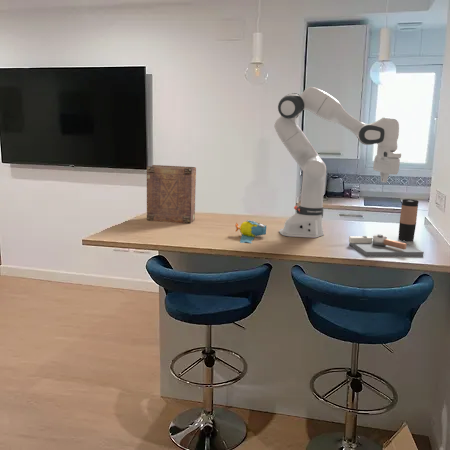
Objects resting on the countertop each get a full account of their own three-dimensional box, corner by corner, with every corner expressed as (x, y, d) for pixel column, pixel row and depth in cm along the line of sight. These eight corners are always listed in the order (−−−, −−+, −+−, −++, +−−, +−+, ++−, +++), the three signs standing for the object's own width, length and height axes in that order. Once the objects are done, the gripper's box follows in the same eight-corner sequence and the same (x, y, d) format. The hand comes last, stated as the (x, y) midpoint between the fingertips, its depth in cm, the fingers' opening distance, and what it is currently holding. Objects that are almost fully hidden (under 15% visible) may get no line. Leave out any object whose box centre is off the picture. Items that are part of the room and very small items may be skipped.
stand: (363, 256, 205) (364, 245, 204) (347, 244, 224) (348, 234, 223) (423, 256, 208) (424, 246, 207) (401, 244, 227) (402, 235, 226)
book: (146, 220, 264) (146, 166, 257) (151, 217, 272) (151, 164, 266) (190, 223, 259) (191, 168, 253) (194, 220, 268) (195, 167, 262)
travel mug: (395, 237, 241) (399, 198, 237) (409, 238, 242) (414, 199, 238) (401, 241, 234) (406, 201, 230) (416, 241, 234) (421, 201, 230)
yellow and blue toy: (238, 214, 247) (267, 216, 246) (237, 230, 249) (266, 232, 248) (233, 225, 220) (266, 227, 219) (232, 243, 222) (264, 246, 220)
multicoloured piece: (369, 243, 218) (370, 234, 217) (377, 242, 222) (378, 233, 221) (400, 252, 206) (401, 242, 205) (408, 250, 209) (409, 240, 208)
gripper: (371, 151, 234) (368, 179, 237) (389, 154, 214) (386, 184, 217) (383, 151, 234) (380, 179, 237) (403, 154, 215) (399, 184, 218)
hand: (383, 182), depth 227 cm, fingers closed
